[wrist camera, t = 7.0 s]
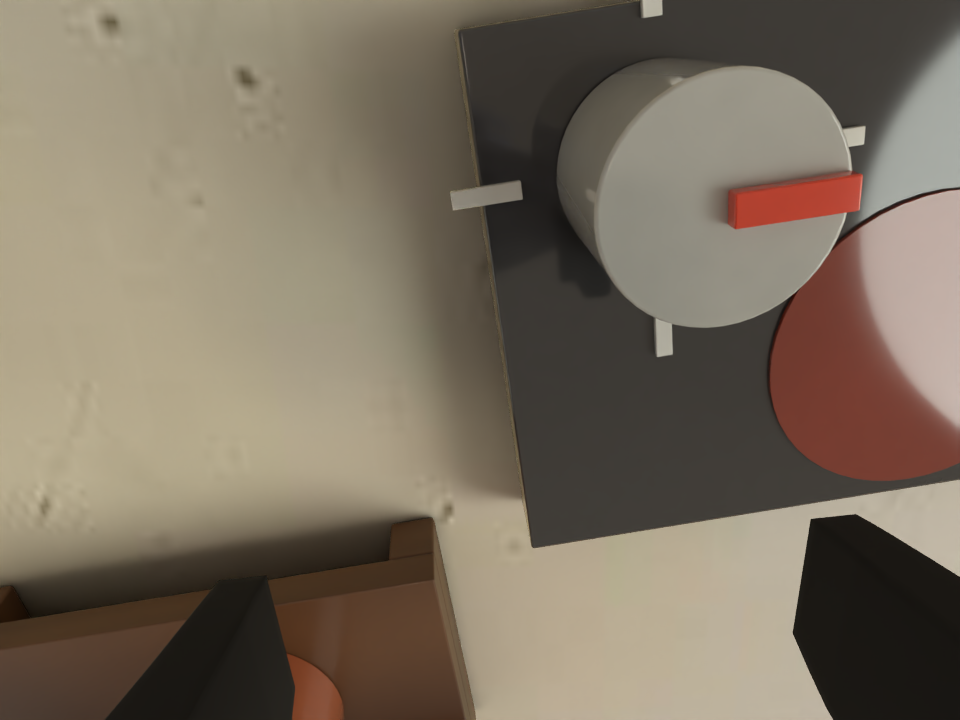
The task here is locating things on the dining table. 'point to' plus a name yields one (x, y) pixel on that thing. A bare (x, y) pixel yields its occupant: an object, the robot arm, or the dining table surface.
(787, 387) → the disc
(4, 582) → the dining table surface
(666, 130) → the hob knob
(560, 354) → the hob
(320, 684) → the jar
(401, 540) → the spice shelf
